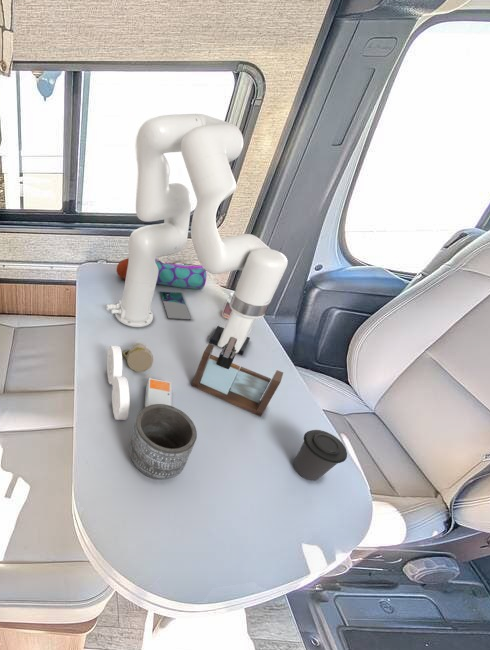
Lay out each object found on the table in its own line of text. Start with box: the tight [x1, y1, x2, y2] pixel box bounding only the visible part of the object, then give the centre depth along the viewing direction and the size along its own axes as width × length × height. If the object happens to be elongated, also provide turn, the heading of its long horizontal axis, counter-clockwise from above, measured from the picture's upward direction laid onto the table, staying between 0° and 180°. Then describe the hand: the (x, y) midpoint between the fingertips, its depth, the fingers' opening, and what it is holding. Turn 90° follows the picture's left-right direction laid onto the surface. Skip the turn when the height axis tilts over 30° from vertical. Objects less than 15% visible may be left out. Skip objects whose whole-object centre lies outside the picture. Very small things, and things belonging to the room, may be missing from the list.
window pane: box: [200, 351, 241, 394], centre depth 100 cm, size 7×1×13 cm, turn 55°
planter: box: [128, 404, 198, 481], centre depth 83 cm, size 12×12×13 cm
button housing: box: [208, 325, 251, 356], centre depth 121 cm, size 10×8×4 cm
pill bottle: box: [221, 291, 235, 320], centre depth 131 cm, size 5×5×8 cm
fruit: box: [116, 257, 129, 280], centre depth 148 cm, size 9×9×8 cm
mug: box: [122, 342, 154, 373], centre depth 111 cm, size 8×10×10 cm
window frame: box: [191, 343, 284, 417], centre depth 100 cm, size 18×4×12 cm, turn 55°
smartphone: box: [160, 291, 192, 321], centre depth 137 cm, size 8×1×16 cm
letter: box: [106, 345, 131, 421], centre depth 100 cm, size 22×2×10 cm, turn 0°
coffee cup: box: [292, 429, 348, 482], centre depth 84 cm, size 8×8×10 cm
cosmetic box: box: [144, 377, 173, 408], centre depth 99 cm, size 6×4×12 cm
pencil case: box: [155, 257, 207, 290], centre depth 145 cm, size 21×9×10 cm, turn 76°
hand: (224, 363), depth 98 cm, fingers closed
